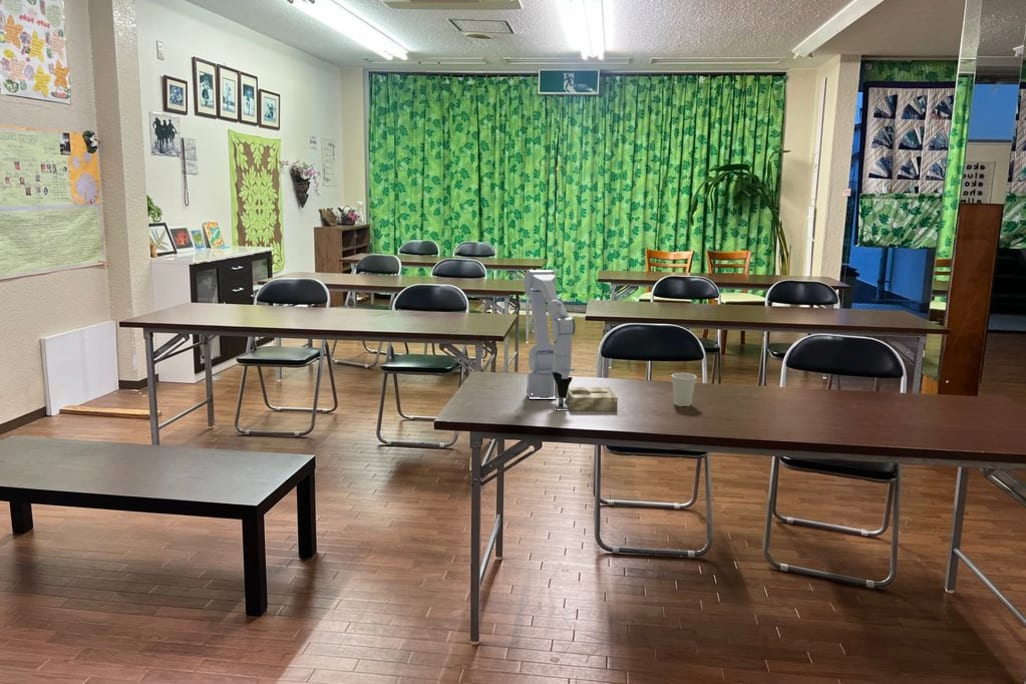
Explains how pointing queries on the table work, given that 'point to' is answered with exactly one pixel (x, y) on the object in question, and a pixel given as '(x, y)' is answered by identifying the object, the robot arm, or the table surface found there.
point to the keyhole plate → (592, 398)
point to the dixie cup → (683, 388)
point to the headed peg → (561, 400)
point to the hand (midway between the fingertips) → (561, 395)
